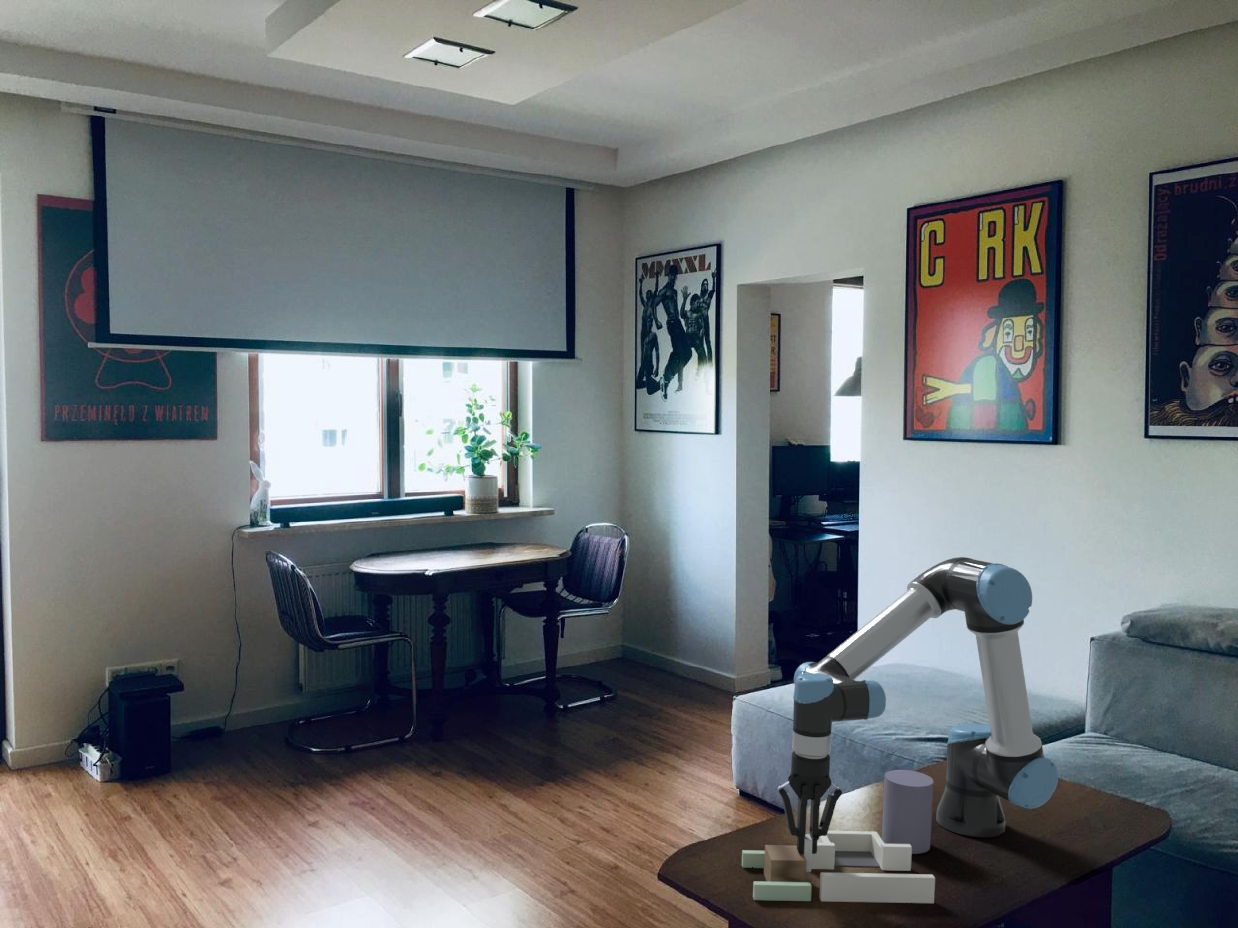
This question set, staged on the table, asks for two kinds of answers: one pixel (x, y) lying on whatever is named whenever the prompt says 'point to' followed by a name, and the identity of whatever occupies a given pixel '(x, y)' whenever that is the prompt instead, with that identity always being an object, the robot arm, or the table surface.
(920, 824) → the lavender cylinder
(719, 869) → the table surface
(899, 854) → the white walled enclosure
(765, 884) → the rails
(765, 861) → the block
